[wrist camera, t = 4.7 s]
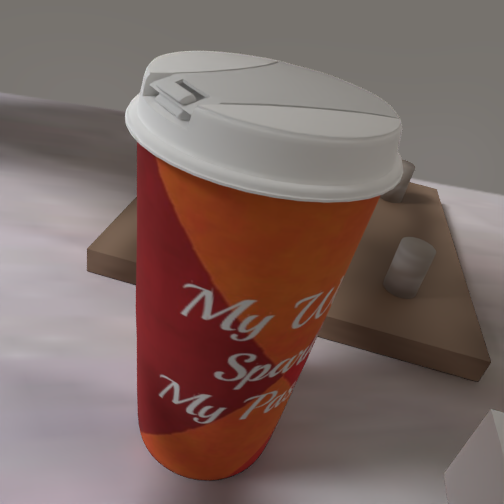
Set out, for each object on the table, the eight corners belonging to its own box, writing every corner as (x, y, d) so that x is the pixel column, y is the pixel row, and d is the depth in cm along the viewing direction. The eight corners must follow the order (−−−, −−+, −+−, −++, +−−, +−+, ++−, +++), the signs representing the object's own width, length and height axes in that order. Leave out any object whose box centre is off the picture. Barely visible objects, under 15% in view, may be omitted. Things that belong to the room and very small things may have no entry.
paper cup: (168, 554, 16) (246, 161, 8) (81, 387, 20) (78, 38, 13) (332, 448, 20) (482, 132, 13) (230, 331, 25) (294, 50, 17)
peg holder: (87, 270, 27) (87, 200, 24) (200, 143, 45) (206, 96, 43) (477, 382, 25) (520, 318, 23) (429, 203, 44) (450, 158, 41)
